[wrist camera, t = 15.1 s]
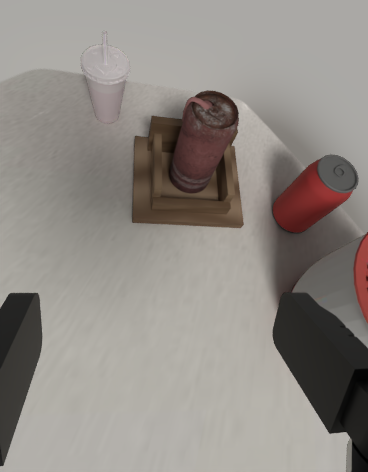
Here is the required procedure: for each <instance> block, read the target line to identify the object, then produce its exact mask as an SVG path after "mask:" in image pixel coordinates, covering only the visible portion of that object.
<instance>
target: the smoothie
mask: <svg viewBox="0 0 368 472" xmlns="http://www.w3.org/2000/svg"><path fill="white" fill-rule="evenodd" d="M102 38H103V39H102V40H103V45H95V46H91V47H89V48H87V49H86V50H85V51H84V52H83V53H82V56H81V68H82V71H83V73H84V74H85V75H86V80H87V83H88V88H89V92H90V96H91V100H92V104H93V108H94V112H95V116H96V118H97V119H98V120H99V121H101V122H103V123H113V122H115V121H116V120H117V119H118V117H119V113H120V108H121V102H122V97H123V92H124V87H125V82H126V78H127V77H128V75H129V72H130V63H129V59H128V57H127V56H126V55H125V54H124V53H123V52H122V51H121V50H119V49H117V48H116V47H113V46H109V45H107V32H106V31H103V32H102Z"/></svg>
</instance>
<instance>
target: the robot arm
mask: <svg viewBox="0 0 368 472" xmlns="http://www.w3.org/2000/svg"><path fill="white" fill-rule="evenodd" d="M273 340H274V344H275V346H276V348H277V350H278V351H279V353H280V355H281V356H282V358H283V359H284V361H285V363H286V364H287V366H288V368H289V369H290V371H291V372H292V374H293V376H294V377H295V379H296V380H297V382H298V384H299V385H300V387H301V388H302V390H303V392H304V393H305V395H306V397H307V398H308V400H309V401H310V403H311V405H312V406H313V408H314V409H315V411H316V413H317V414H318V416H319V417H320V419H321V421H322V422H323V424H324V425H325V427H326V429H327V430H328V432H329V434H331V433H340V432H347V433H348V435H349V436H350V439H349V441H348V444H347V455H346V472H368V348H367V347H366V346H365V345H364V344H363V343H362V342H361V341H360V340H359V339H358V338H357V337H355V336H354V334H353V333H352V332H351V331H350V330H349V329H348V328H346V326H345V325H344V324H343V322H342V321H341V320H340V319H339V318H338V317H337V316H336V315H334V314H332V313H331V312H329V311H328V310H326V309H324V308H323V307H321V306H320V305H319V304H318V303H317V302H316V301H315V300H314V299H313V298H312V297H311V296H310V295H309V294H308V293H305V292H286V293H284V294H283V295H282V296H281V299H280V303H279V307H278V311H277V315H276V319H275V323H274V327H273ZM41 347H42V325H41V311H40V299H39V295H38V293H10V294H9V295H8V297H7V298H6V300H5V302H4V303H3V305H2V307H1V308H0V466H3V465H4V462H5V459H6V456H7V453H8V450H9V447H10V444H11V441H12V438H13V435H14V432H15V429H16V426H17V423H18V420H19V417H20V414H21V411H22V408H23V405H24V402H25V399H26V396H27V393H28V390H29V387H30V384H31V381H32V378H33V375H34V372H35V369H36V366H37V363H38V360H39V357H40V353H41Z"/></svg>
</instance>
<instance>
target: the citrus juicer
mask: <svg viewBox="0 0 368 472" xmlns="http://www.w3.org/2000/svg"><path fill="white" fill-rule="evenodd" d="M291 292H305V293H308V294H309V295H310V296H311V297H312V298H313V299H314V300H315V301H316V302H317V303H318V304H319V305H320V306H321V307H323V308H324V309H326V310H328V311H329V312H331V313H332V314H334V315H336V316H337V317H338V318H339V319H340V320H341V321H342V322H343V324H344V325H345V326H346V328H348V329H349V330H350V331H351V332H352V333H353V334H354V336H355V337H357V338H358V339H359V340H360V341H361V342H362V343H363V344H364V345H365V346H366V347H367V348H368V232H367V234H365V235H363V236H362V237H360V238H358V239H356V240H354V241H352V242H350V243H349V244H347V245H345V246H343V247H341V248H339V249H337V250H336V251H334V252H332V253H330V254H328V255H327V256H325V257H323V258H322V259H320V260H319V261H318V262H316V263H315V264H314V265H312V266H311V267H310V268H309V269H308V270H307V271H306V272H305V273H304V274H303V276H302V277H301V278H300V279H299V280H298V281H297V283H296V284H295V285H294V287H293V289H292V291H291Z"/></svg>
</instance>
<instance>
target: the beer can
mask: <svg viewBox="0 0 368 472" xmlns="http://www.w3.org/2000/svg"><path fill="white" fill-rule="evenodd" d="M357 185H358V175H357V171H356V170H355V168H354V167H353V165H352V164H351V163H350V162H349V161H347V160H346V159H344V158H343V157H340V156H338V155H327V156H324V157H323V158H321V159H319V160H317V161H315V162H314V163H312V164H310V165H309V166H308V167H307V168H306V169H305V170H304V171H303V172H302V173H301V174H300V175H299V176H298V177H297V178H296V179H295V180H294V181H293V183H292V184H291V185H290V186H289V187H288V188H287V189H286V190H285V191H284V192H283V193H282V194H281V195H280V196H279V197H278V198H277V199H276V201H275V202H274V205H273V215H274V217H275V219H276V221H277V222H278V224H279V225H280V226H281V227H283V228H284V229H285V230H288V231H290V232H297V233H299V232H303V231H305V230H306V229H308V228H309V227H311V226H312V225H313V224H315V223H316V222H317V221H319V220H320V219H322V218H323V217H324V216H326V215H327V214H328V213H330V212H331V211H333V210H334V209H335V208H337V207H338V206H339V205H341V204H342V203H343V202H345V201H346V200H347V199H348V198H349V197H350V195H351V193H352V191H353V190H354V189H356V187H357Z"/></svg>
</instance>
